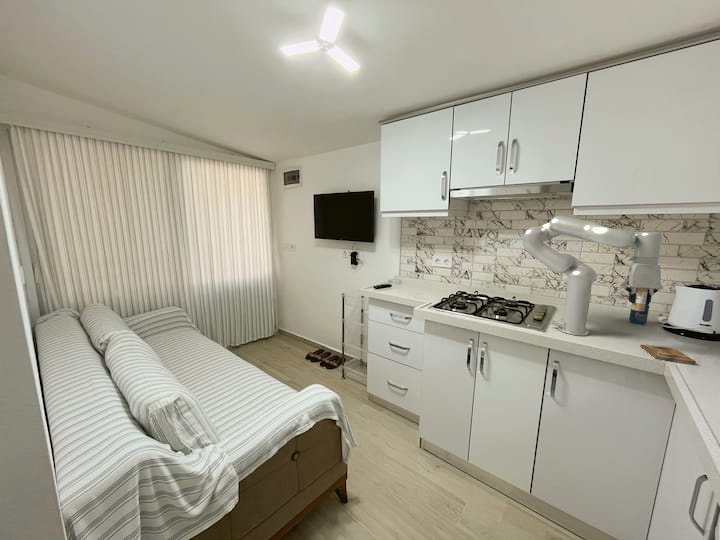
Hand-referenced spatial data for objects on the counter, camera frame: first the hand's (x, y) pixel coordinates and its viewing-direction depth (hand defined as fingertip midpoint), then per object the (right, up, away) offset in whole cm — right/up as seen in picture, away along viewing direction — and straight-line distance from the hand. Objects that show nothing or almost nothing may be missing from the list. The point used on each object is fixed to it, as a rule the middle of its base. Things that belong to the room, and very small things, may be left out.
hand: (639, 302), depth 130 cm
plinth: (+5, -21, -7) cm, 23 cm away
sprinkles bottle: (0, -4, +1) cm, 4 cm away
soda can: (+29, -15, +33) cm, 46 cm away
